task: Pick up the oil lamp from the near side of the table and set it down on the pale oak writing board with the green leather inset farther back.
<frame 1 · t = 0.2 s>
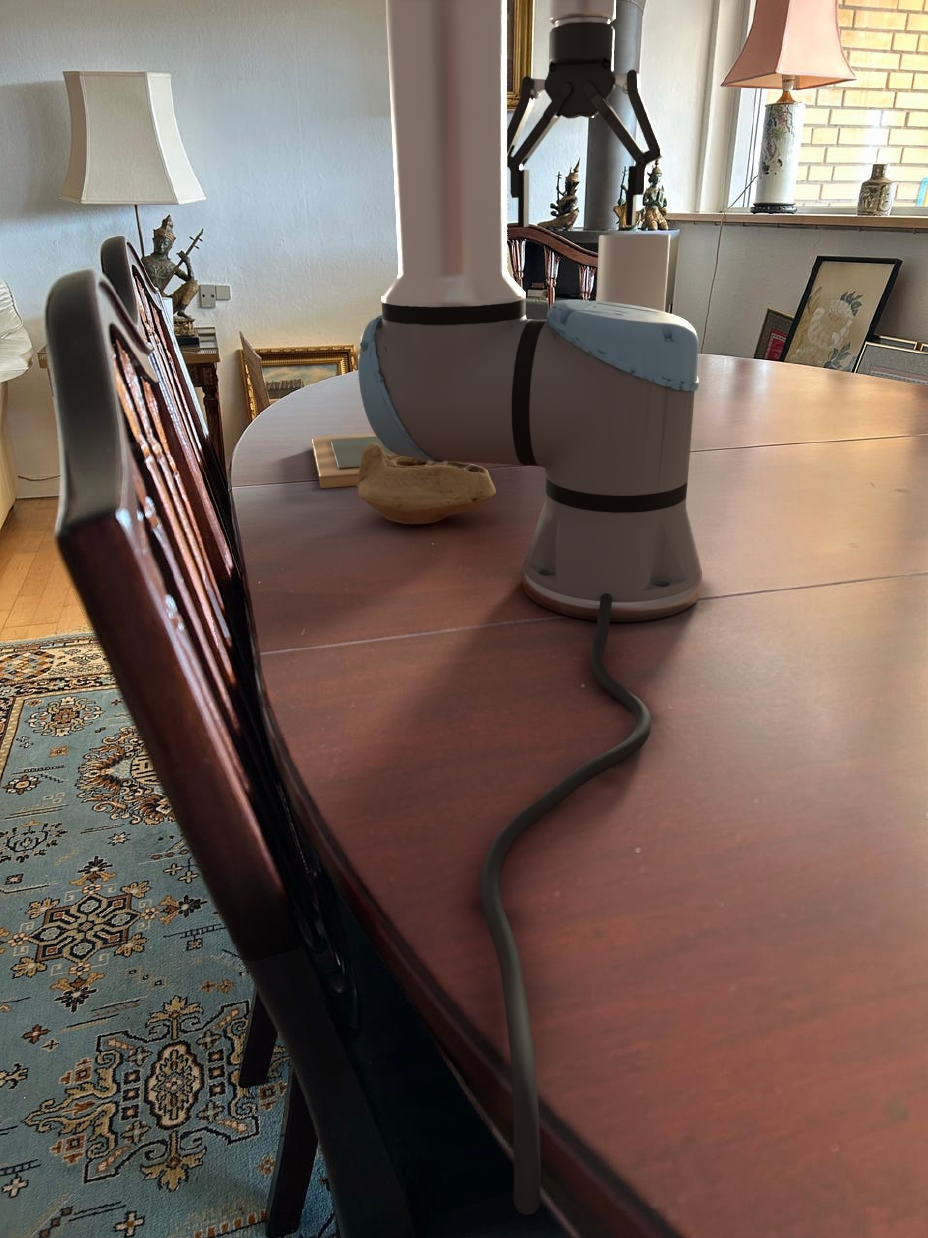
hand: (575, 226, 112), 28 cm above the table, tool pointing down, fingers open, 13 cm apart
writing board: (377, 462, 117), on the table
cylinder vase: (626, 379, 170), on the table
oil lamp: (426, 519, 96), on the table
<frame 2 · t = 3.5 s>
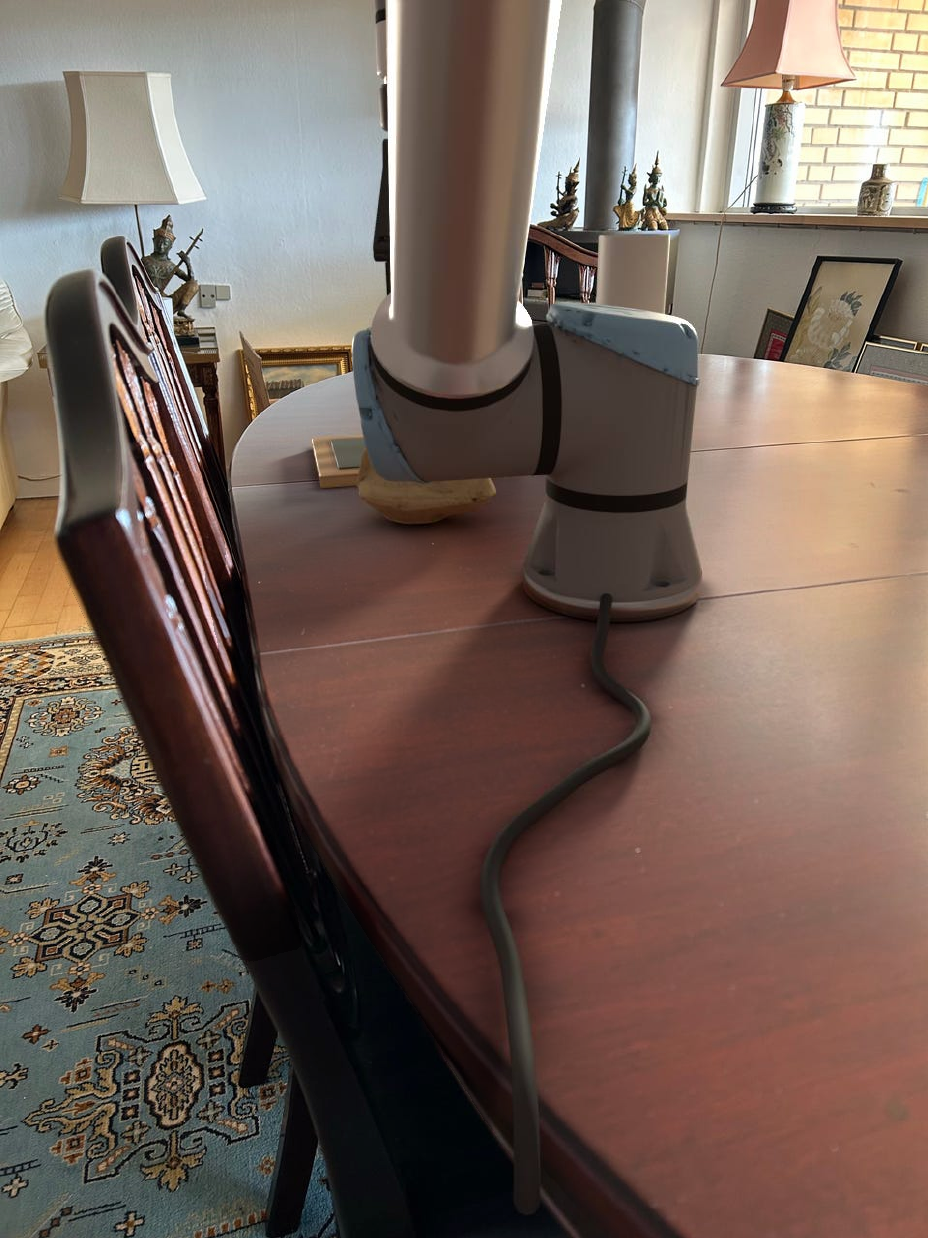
hand: (428, 328, 89), 19 cm above the table, tool pointing down, fingers open, 13 cm apart
nothing on the table moved.
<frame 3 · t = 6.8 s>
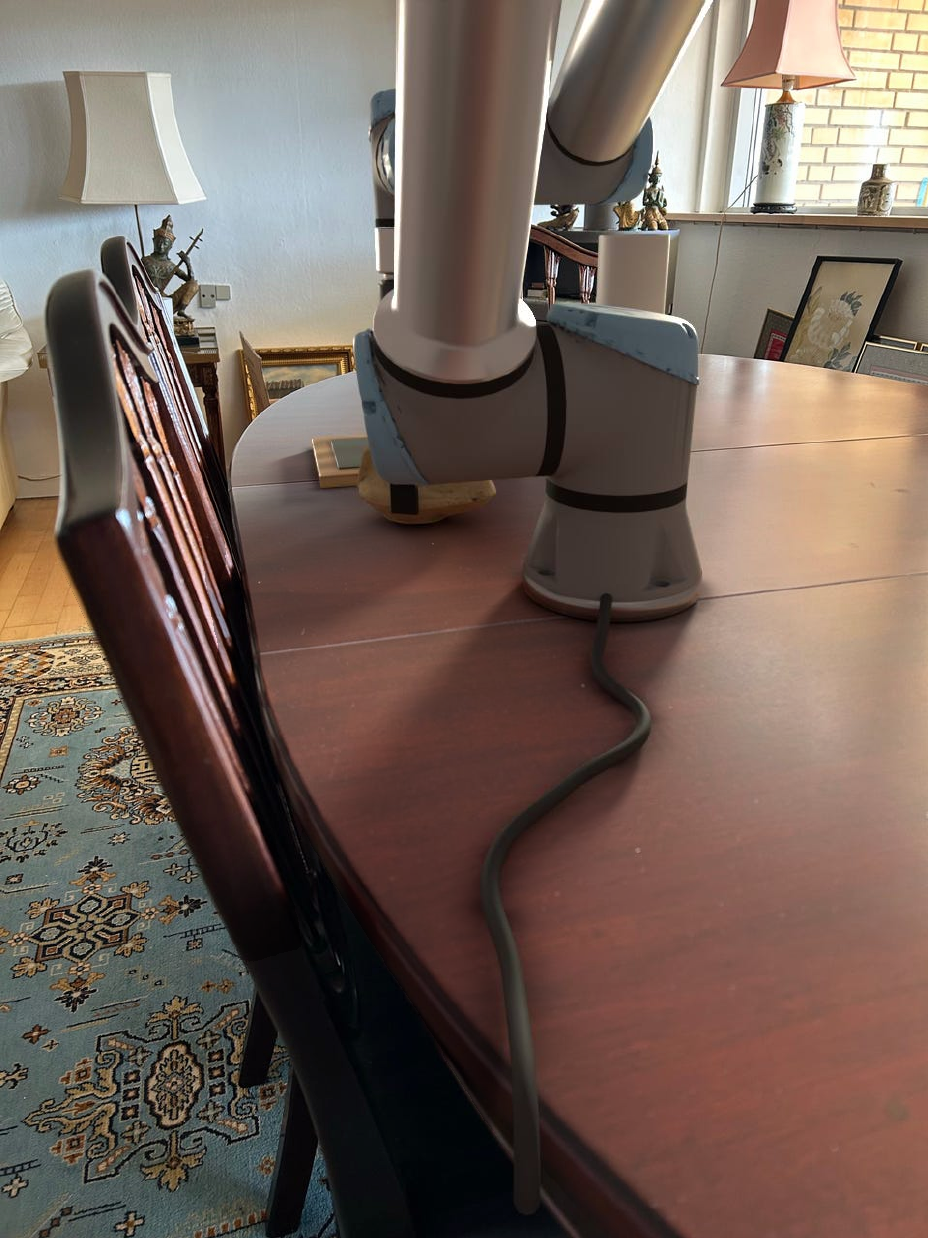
hand: (424, 496, 95), 2 cm above the table, tool pointing down, fingers closed on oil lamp, 11 cm apart
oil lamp: (427, 519, 96), on the table, touching gripper
everything else where it was.
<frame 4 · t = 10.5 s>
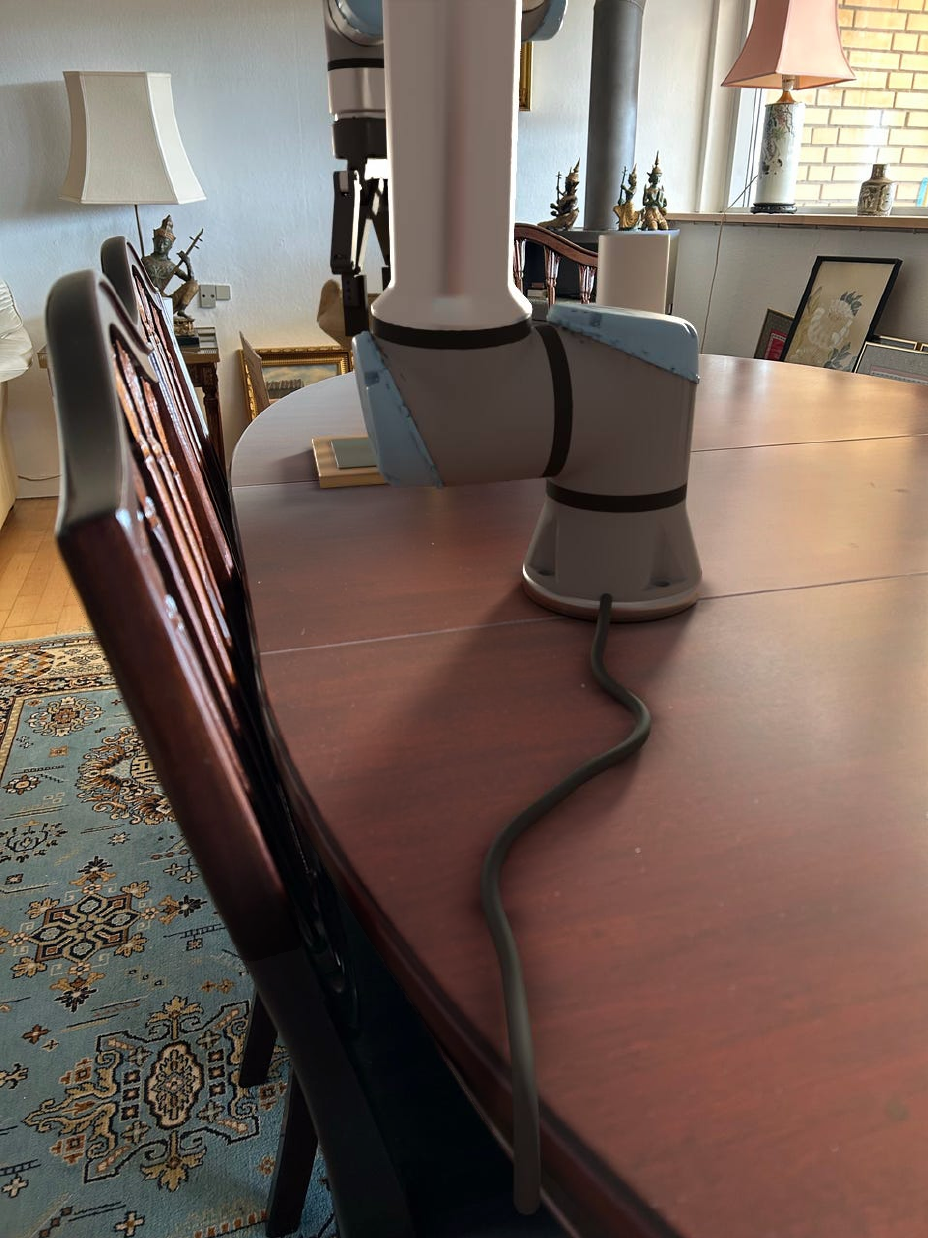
hand: (377, 329, 106), 17 cm above the table, tool pointing down, fingers closed on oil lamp, 11 cm apart
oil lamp: (380, 351, 107), point 15 cm above the table, touching gripper
everything else where it was.
when the fingers open (4 cm above the table, at t = 14.5 s): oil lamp stays where it is, resting on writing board.
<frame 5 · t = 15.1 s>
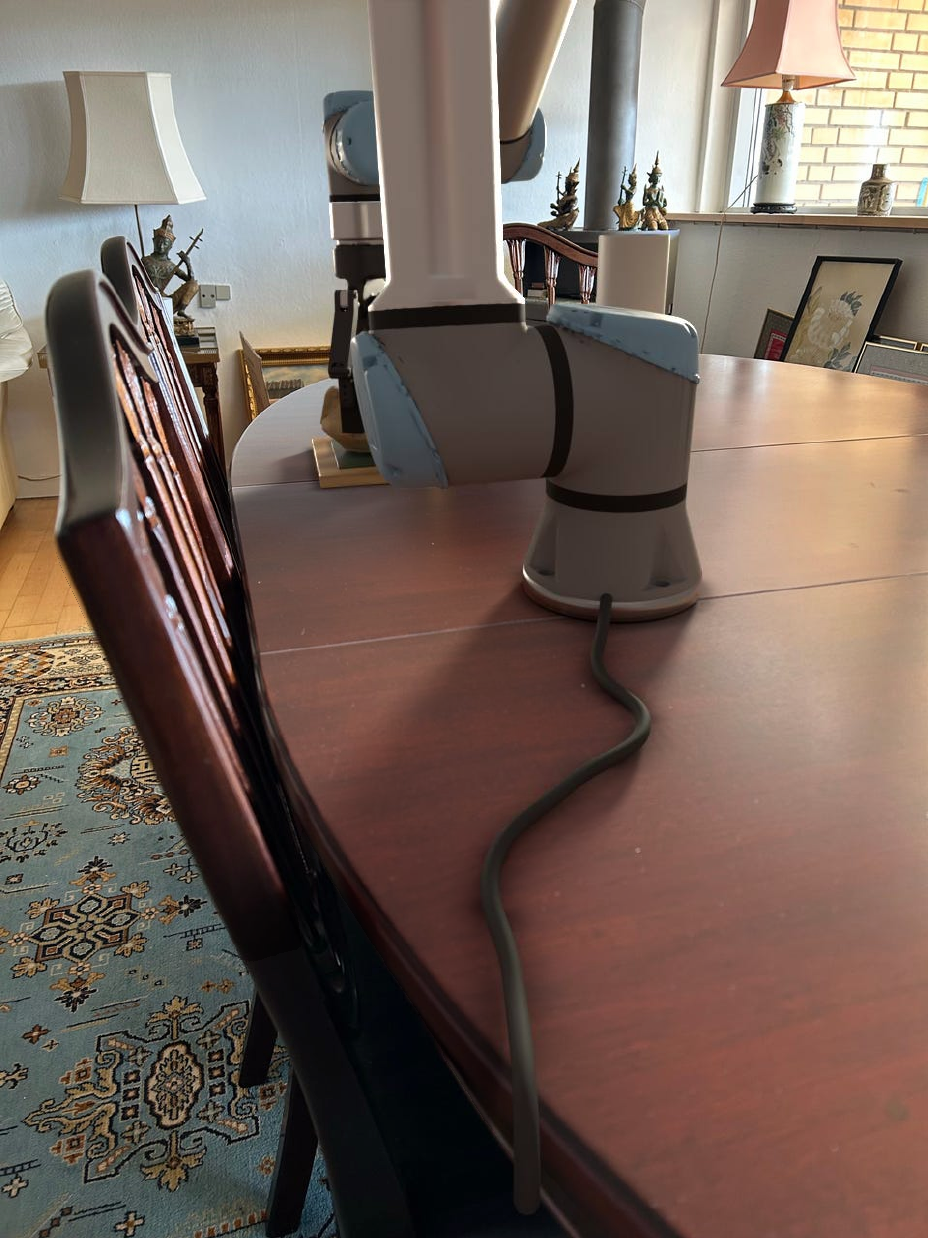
hand: (375, 421, 115), 5 cm above the table, tool pointing down, fingers open, 13 cm apart
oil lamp: (378, 450, 117), point 2 cm above the table, touching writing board
everything else where it was.
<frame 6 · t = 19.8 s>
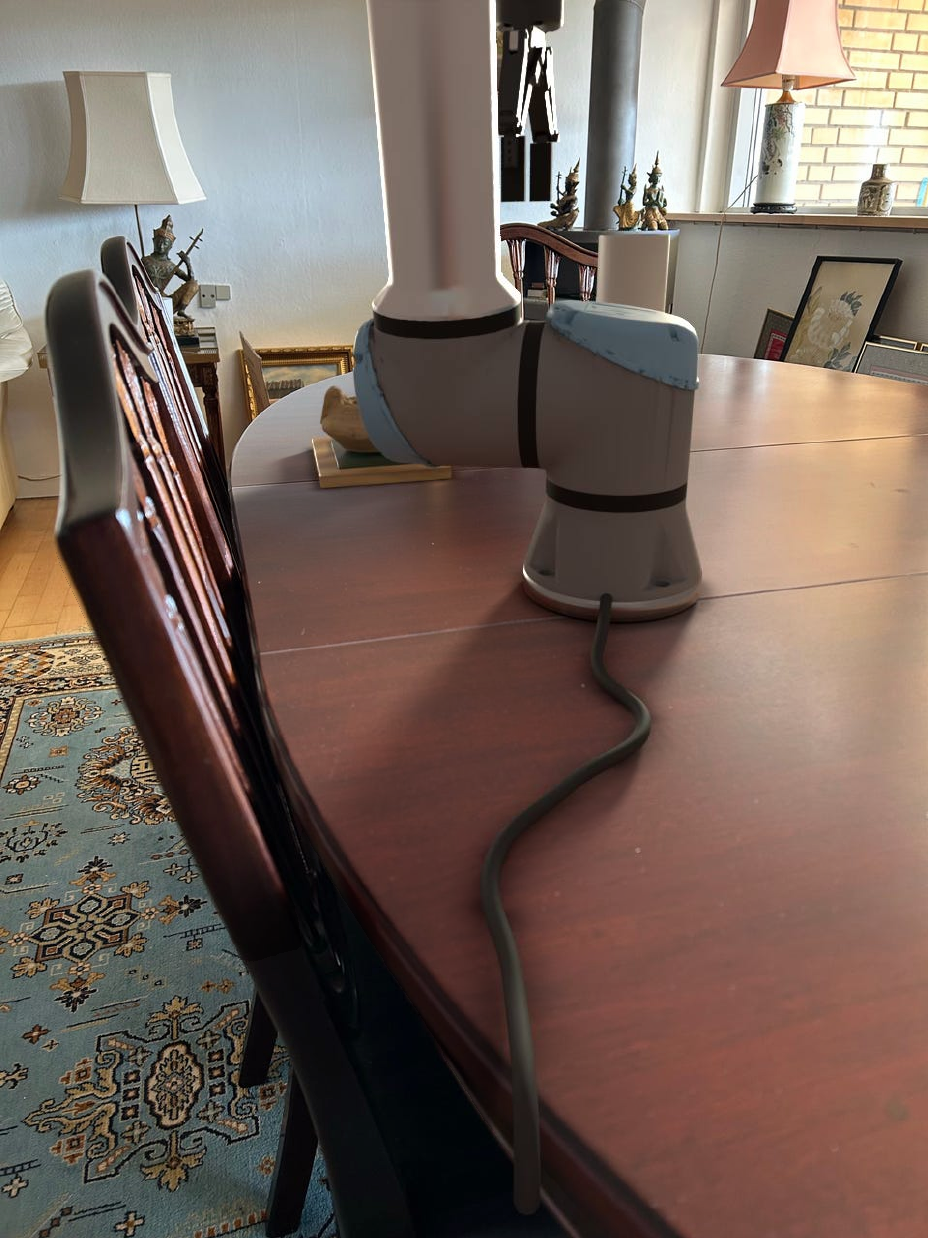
hand: (527, 201, 106), 31 cm above the table, tool pointing down, fingers open, 13 cm apart
nothing on the table moved.
at the end: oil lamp inside the target area on the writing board (0.4 cm from its centre), point 1.5 cm above the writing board's base; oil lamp tilted 0°; the gripper is holding nothing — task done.
